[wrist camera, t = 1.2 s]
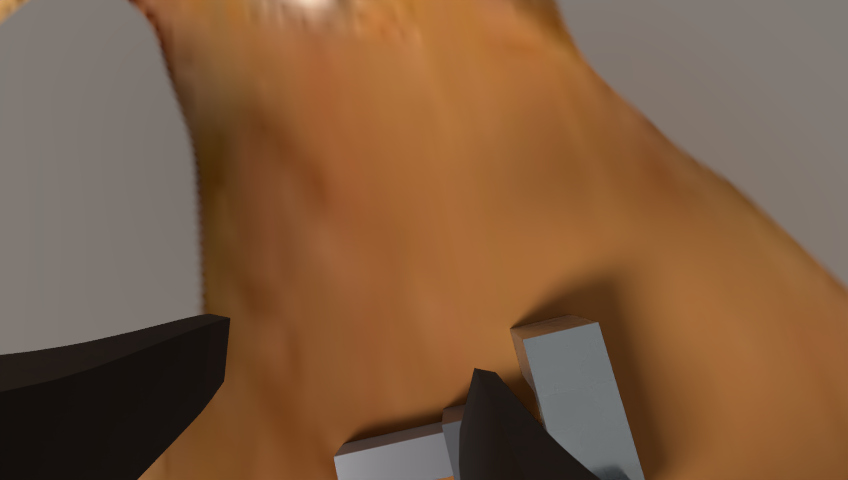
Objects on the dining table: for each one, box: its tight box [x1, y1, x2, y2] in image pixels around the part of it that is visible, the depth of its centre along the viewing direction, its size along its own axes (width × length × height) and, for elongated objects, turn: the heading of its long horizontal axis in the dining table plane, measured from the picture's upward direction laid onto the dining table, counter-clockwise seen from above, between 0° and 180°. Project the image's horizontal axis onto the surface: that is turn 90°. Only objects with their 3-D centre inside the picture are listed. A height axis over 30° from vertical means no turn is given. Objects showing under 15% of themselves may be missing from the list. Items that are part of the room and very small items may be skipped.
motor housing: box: [510, 314, 645, 480], centre depth 22 cm, size 4×12×6 cm, turn 14°
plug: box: [334, 404, 466, 480], centre depth 24 cm, size 12×4×3 cm, turn 104°
